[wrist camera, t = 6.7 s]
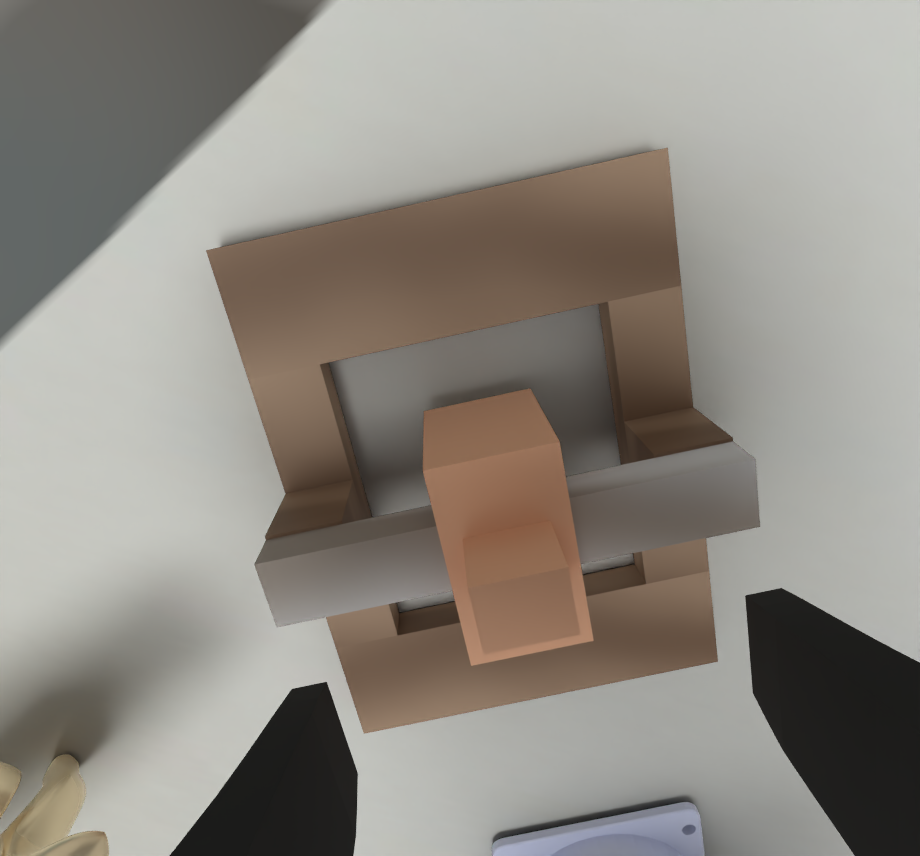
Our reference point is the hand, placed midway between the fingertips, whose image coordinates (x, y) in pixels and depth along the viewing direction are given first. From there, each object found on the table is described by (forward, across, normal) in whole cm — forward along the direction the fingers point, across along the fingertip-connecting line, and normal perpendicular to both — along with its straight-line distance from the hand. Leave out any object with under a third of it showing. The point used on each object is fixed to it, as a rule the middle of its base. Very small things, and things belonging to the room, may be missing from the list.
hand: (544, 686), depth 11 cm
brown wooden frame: (+10, 0, 0) cm, 10 cm away
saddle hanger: (+8, 0, 0) cm, 8 cm away
